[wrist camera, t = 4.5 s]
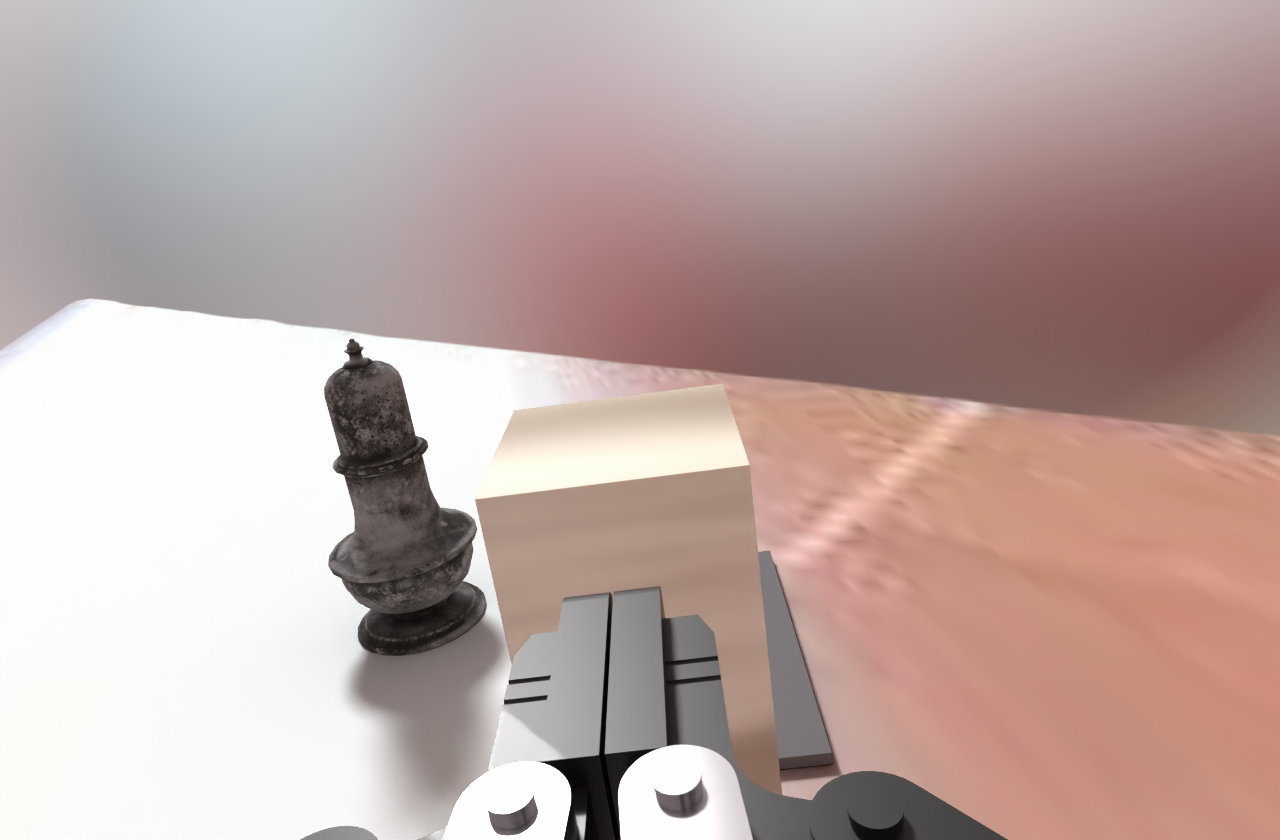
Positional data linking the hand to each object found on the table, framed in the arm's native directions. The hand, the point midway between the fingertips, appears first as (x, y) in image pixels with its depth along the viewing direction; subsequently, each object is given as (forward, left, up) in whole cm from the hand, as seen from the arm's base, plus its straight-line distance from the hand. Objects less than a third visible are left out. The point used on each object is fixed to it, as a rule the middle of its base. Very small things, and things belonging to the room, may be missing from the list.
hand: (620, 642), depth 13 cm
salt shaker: (+22, -1, -11) cm, 24 cm away
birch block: (+5, -3, -11) cm, 12 cm away
